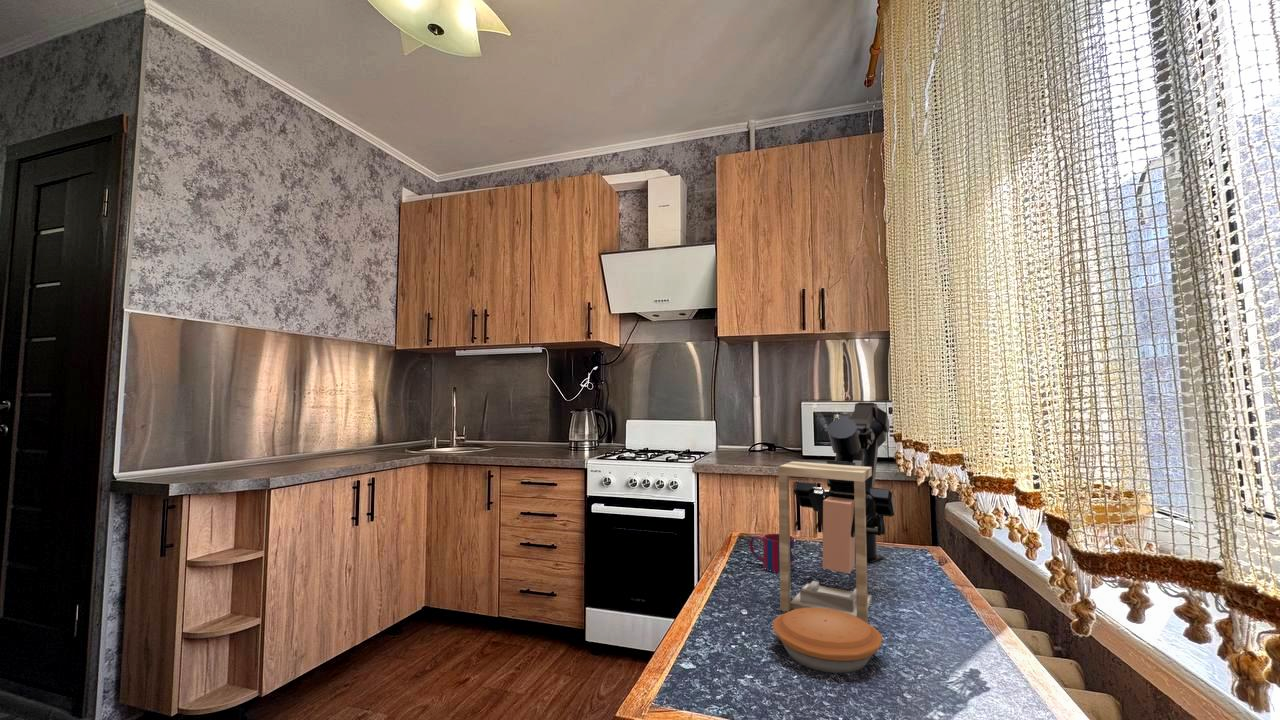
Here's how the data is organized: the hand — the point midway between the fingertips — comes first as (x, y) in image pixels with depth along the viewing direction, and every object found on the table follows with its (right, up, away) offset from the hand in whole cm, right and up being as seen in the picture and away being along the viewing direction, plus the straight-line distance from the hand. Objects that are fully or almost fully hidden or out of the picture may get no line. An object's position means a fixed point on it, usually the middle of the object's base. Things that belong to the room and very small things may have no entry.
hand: (837, 534), depth 106 cm
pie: (-11, -10, -25) cm, 29 cm away
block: (+1, -7, +1) cm, 7 cm away
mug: (-9, -13, +16) cm, 22 cm away
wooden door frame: (-3, -11, -6) cm, 13 cm away
